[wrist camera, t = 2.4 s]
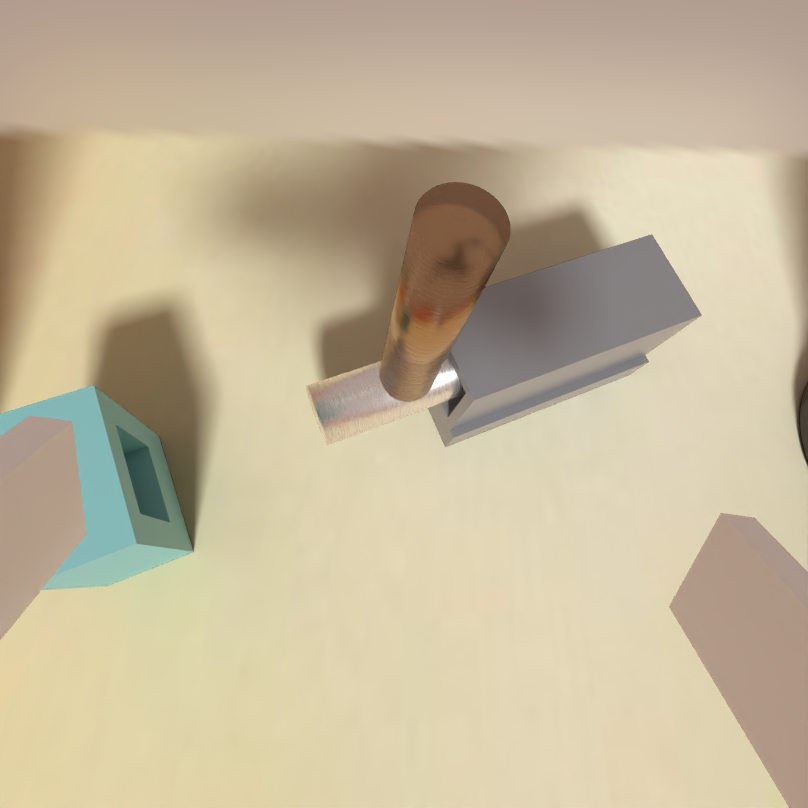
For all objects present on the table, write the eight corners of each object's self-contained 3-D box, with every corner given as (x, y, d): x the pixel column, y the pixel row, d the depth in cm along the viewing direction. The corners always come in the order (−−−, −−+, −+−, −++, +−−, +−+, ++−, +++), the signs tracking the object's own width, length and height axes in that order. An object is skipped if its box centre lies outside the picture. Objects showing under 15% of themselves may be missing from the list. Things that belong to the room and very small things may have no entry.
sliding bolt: (606, 347, 31) (829, 163, 17) (328, 451, 27) (321, 320, 13) (582, 303, 32) (777, 92, 18) (307, 397, 28) (280, 219, 14)
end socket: (193, 551, 28) (136, 543, 20) (107, 586, 27) (10, 592, 19) (158, 435, 30) (93, 385, 22) (76, 463, 29) (-25, 421, 21)
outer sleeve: (629, 374, 35) (706, 323, 28) (445, 447, 32) (478, 409, 24) (585, 295, 36) (647, 227, 29) (405, 357, 33) (425, 296, 26)
